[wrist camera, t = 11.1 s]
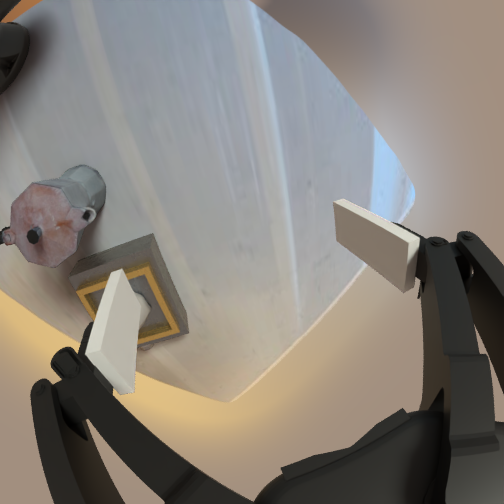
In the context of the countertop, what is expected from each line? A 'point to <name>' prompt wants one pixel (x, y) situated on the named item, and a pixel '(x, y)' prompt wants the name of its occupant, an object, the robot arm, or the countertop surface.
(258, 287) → the countertop surface
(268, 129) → the countertop surface
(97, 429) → the robot arm
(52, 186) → the moka pot
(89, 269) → the plate
